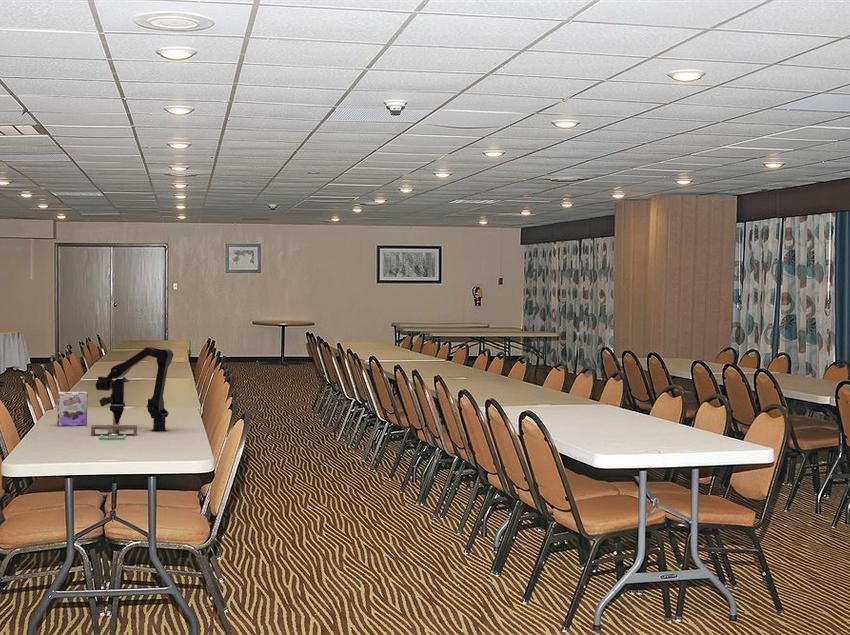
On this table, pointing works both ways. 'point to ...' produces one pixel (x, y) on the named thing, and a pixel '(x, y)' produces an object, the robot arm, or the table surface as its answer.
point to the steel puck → (113, 435)
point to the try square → (114, 429)
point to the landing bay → (112, 438)
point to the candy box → (72, 409)
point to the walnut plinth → (113, 428)
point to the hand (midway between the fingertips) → (117, 423)
